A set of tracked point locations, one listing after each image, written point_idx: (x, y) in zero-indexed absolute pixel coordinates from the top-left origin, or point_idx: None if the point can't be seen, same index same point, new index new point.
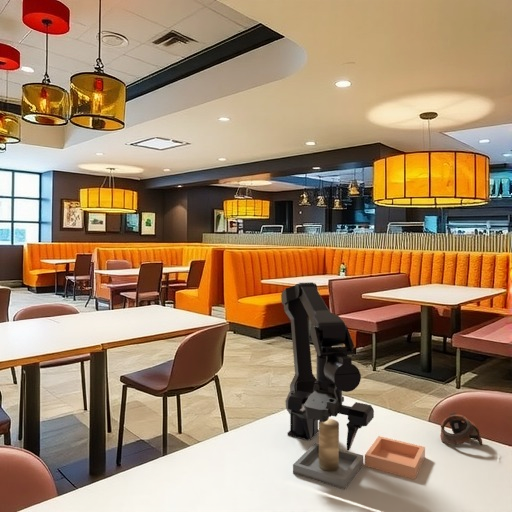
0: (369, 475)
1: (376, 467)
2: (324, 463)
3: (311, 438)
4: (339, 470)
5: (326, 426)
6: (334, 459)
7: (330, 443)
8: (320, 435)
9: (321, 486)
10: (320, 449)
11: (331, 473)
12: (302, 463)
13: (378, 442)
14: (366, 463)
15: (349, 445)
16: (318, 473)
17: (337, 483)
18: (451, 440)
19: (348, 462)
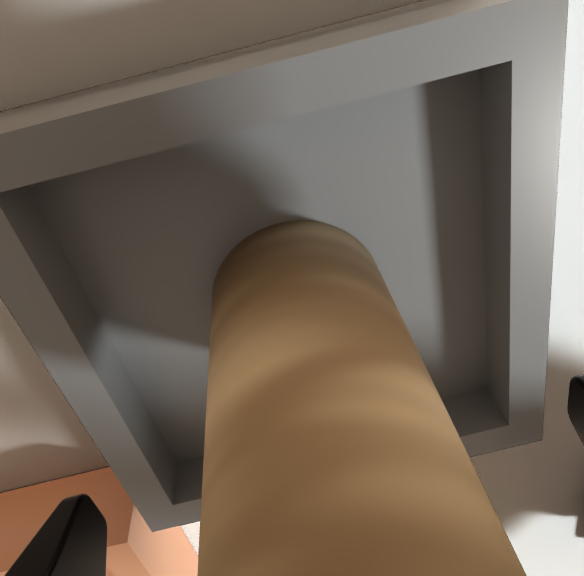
0: (51, 418)
1: (59, 497)
2: (287, 254)
3: (572, 413)
4: (192, 310)
5: None
6: (212, 340)
7: (240, 454)
8: (433, 490)
9: (176, 32)
10: (372, 333)
11: (111, 160)
12: (495, 141)
13: None
14: (123, 488)
15: (18, 564)
16: (231, 72)
17: (21, 118)
18: None
19: None
